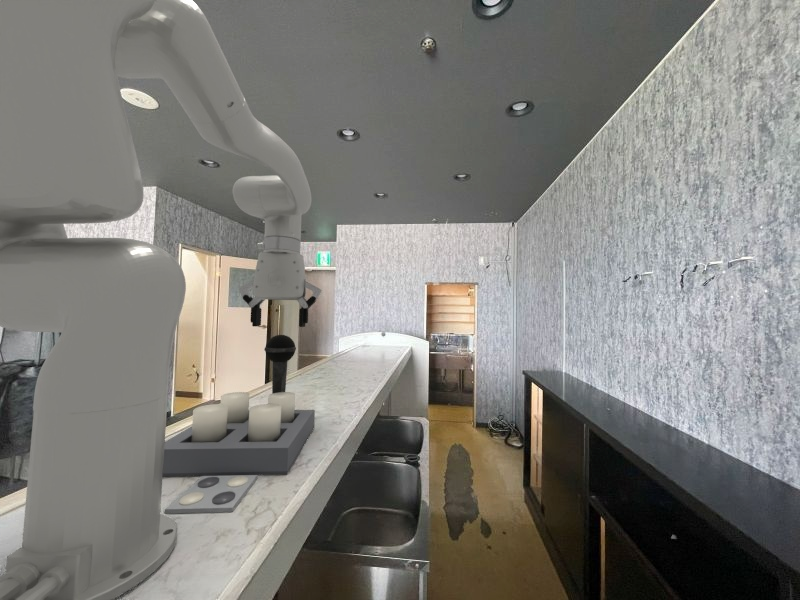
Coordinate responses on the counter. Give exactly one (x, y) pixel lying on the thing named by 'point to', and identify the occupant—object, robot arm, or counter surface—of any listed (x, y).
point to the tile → (213, 494)
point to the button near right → (264, 423)
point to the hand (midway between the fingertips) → (279, 326)
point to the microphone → (279, 360)
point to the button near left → (209, 423)
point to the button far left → (236, 406)
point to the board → (238, 451)
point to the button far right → (284, 405)
